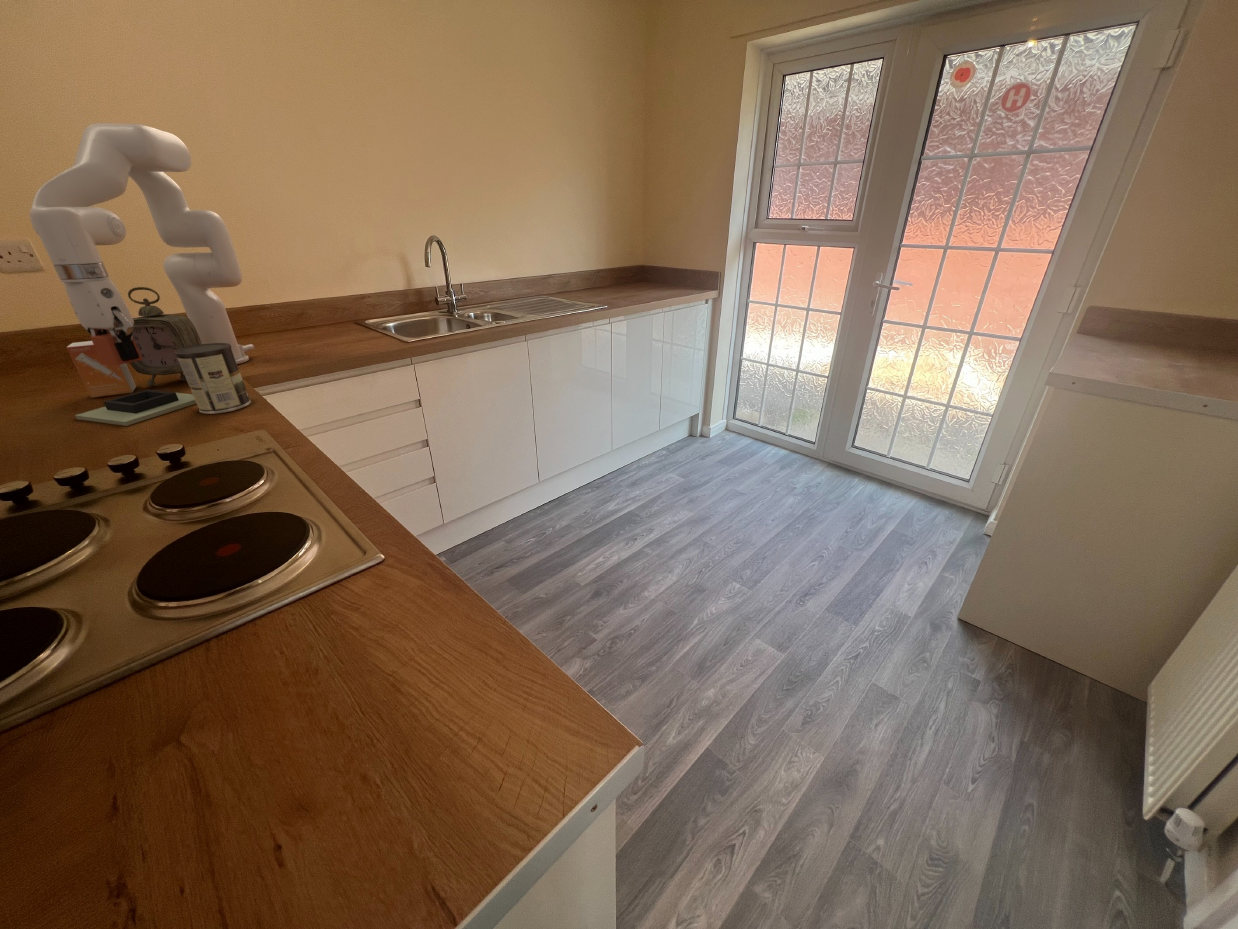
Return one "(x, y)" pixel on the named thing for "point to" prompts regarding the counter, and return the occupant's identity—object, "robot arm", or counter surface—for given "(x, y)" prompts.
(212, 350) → the coffee can
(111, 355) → the pad block
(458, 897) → the counter surface
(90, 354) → the small box
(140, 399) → the back pad
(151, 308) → the tabletop clock
